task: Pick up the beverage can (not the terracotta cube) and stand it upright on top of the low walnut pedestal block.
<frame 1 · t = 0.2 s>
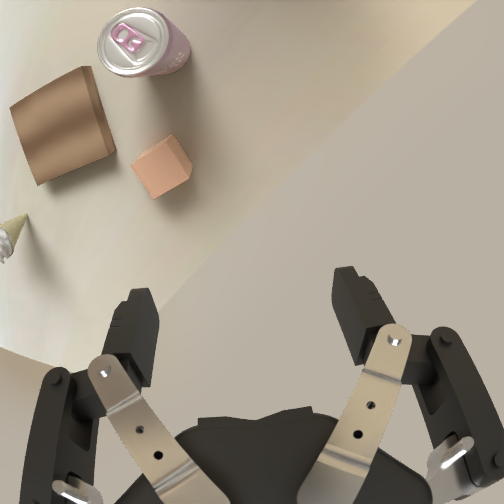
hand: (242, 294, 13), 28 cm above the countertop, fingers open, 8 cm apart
terracotta cube: (166, 159, 37), on the countertop
pedestal: (65, 124, 33), on the countertop
beverage can: (166, 51, 30), on the countertop
ice cream cone: (27, 214, 39), on the countertop
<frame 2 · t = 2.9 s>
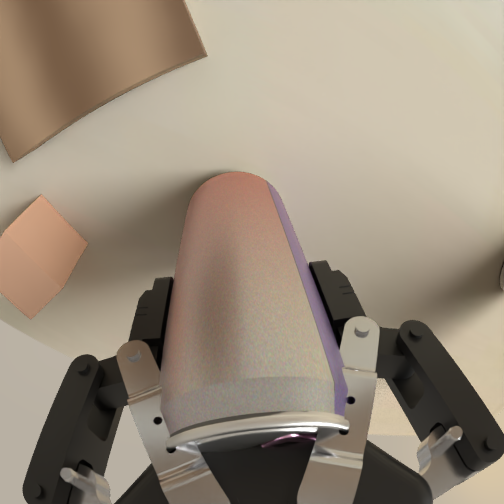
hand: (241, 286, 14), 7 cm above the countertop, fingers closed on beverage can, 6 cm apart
terracotta cube: (47, 237, 19), on the countertop
pedestal: (76, 19, 11), on the countertop
beverage can: (235, 211, 20), on the countertop, touching gripper
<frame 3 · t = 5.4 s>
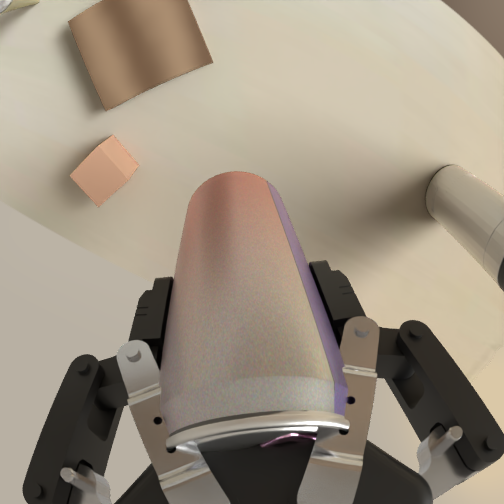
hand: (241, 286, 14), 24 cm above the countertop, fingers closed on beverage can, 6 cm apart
terracotta cube: (112, 162, 33), on the countertop
pedestal: (142, 38, 26), on the countertop
beverage can: (235, 211, 20), point 17 cm above the countertop, touching gripper
ice cream cone: (38, 1, 20), on the countertop
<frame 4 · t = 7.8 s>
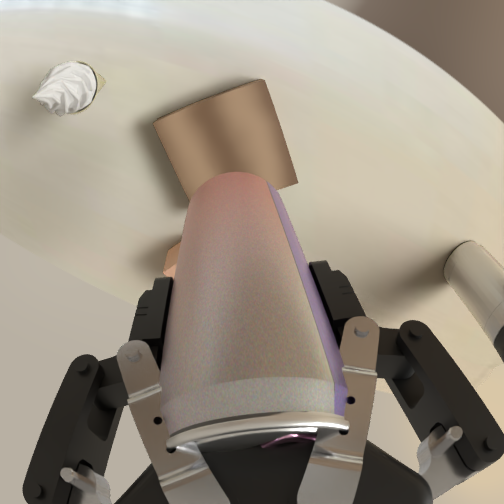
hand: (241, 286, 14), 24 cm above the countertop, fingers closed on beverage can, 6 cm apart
terracotta cube: (194, 252, 41), on the countertop
pedestal: (227, 145, 34), on the countertop
beverage can: (235, 211, 20), point 17 cm above the countertop, touching gripper
ice cream cone: (104, 81, 28), on the countertop
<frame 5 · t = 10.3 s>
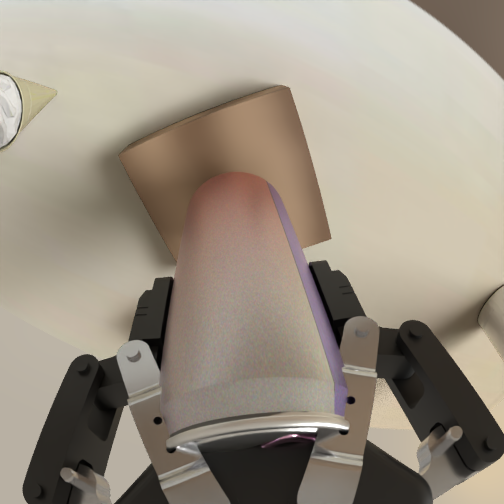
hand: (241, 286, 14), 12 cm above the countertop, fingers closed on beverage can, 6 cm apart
pedestal: (231, 182, 24), on the countertop
beverage can: (235, 211, 20), point 5 cm above the countertop, touching gripper
ice cream cone: (55, 92, 18), on the countertop
when the fingers open (10 cm above the countertop, at t = 12.6 s): beverage can stays where it is, resting on pedestal.
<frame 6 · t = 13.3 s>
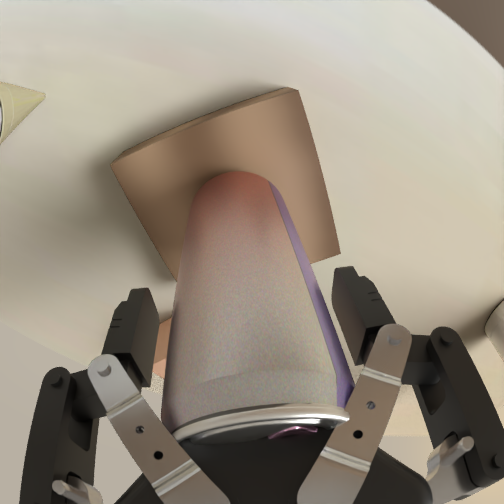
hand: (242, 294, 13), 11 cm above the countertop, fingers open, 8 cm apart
terracotta cube: (188, 331, 30), on the countertop
pedestal: (233, 192, 22), on the countertop
beverage can: (237, 210, 20), point 3 cm above the countertop, touching pedestal
ice cream cone: (44, 95, 16), on the countertop
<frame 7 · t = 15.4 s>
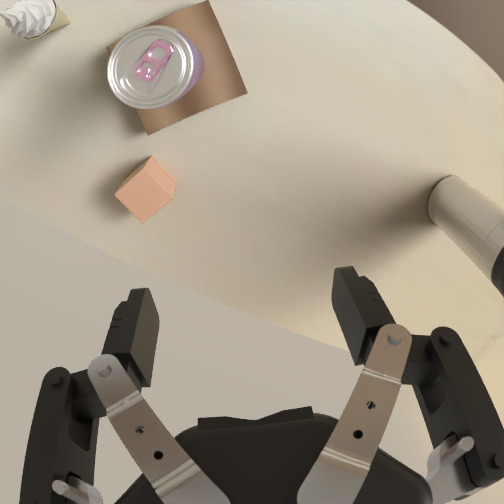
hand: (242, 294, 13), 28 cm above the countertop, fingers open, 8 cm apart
terracotta cube: (150, 181, 38), on the countertop
pedestal: (178, 66, 30), on the countertop
beverage can: (177, 66, 28), point 3 cm above the countertop, touching pedestal
ice cream cone: (69, 22, 24), on the countertop
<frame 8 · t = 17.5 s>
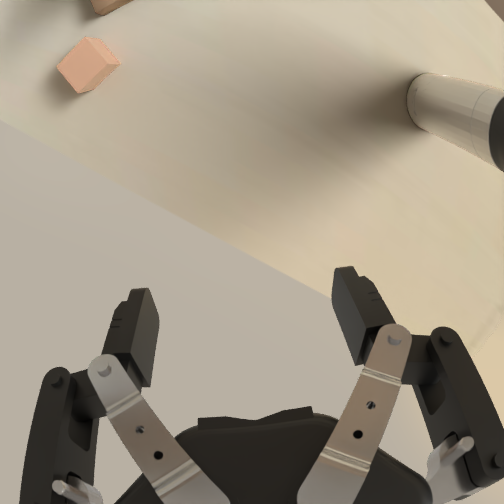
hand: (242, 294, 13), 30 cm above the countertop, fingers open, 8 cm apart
terracotta cube: (96, 64, 30), on the countertop
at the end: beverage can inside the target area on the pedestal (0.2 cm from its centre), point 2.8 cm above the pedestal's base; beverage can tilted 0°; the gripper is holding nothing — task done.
